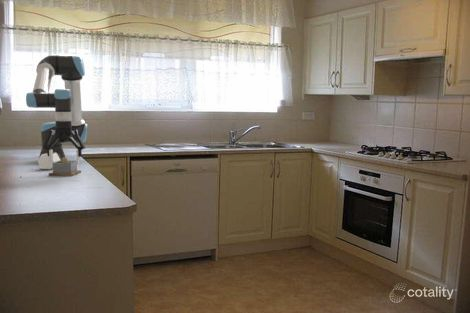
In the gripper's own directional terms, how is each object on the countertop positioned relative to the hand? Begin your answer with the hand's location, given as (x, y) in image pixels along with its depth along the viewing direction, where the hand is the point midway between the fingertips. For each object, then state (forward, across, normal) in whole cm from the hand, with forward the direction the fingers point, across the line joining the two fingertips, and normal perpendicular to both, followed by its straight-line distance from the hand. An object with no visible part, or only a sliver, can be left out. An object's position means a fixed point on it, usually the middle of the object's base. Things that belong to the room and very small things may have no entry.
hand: (64, 163), depth 249 cm
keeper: (+5, 0, 0) cm, 6 cm away
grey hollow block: (+4, 0, 0) cm, 5 cm away
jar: (+2, -15, +14) cm, 21 cm away
